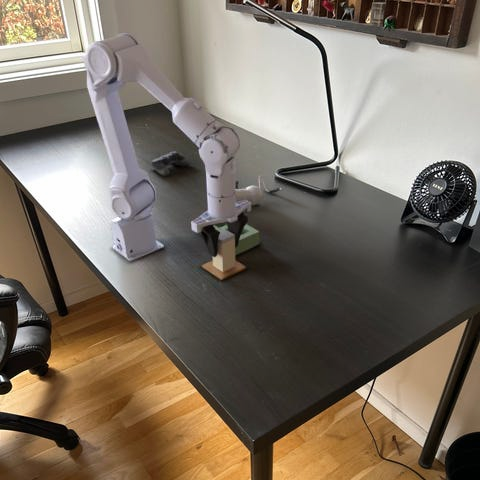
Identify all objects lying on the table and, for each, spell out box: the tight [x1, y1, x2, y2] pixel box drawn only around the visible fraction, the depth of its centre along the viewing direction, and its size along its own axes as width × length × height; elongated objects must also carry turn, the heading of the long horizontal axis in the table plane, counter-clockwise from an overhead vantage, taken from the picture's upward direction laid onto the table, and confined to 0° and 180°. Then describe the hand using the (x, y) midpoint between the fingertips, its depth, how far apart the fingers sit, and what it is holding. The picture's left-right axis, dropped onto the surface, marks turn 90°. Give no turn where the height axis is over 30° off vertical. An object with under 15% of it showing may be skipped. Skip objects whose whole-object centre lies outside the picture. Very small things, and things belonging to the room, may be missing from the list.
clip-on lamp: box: [235, 174, 283, 206], centre depth 135 cm, size 12×6×18 cm
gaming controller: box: [149, 151, 191, 177], centre depth 152 cm, size 12×8×5 cm, turn 143°
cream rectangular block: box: [212, 229, 236, 272], centre depth 107 cm, size 4×4×8 cm
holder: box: [198, 222, 260, 256], centre depth 119 cm, size 8×14×4 cm, turn 41°
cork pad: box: [201, 259, 247, 281], centre depth 110 cm, size 7×7×1 cm
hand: (223, 250), depth 107 cm, fingers open, 5 cm apart
